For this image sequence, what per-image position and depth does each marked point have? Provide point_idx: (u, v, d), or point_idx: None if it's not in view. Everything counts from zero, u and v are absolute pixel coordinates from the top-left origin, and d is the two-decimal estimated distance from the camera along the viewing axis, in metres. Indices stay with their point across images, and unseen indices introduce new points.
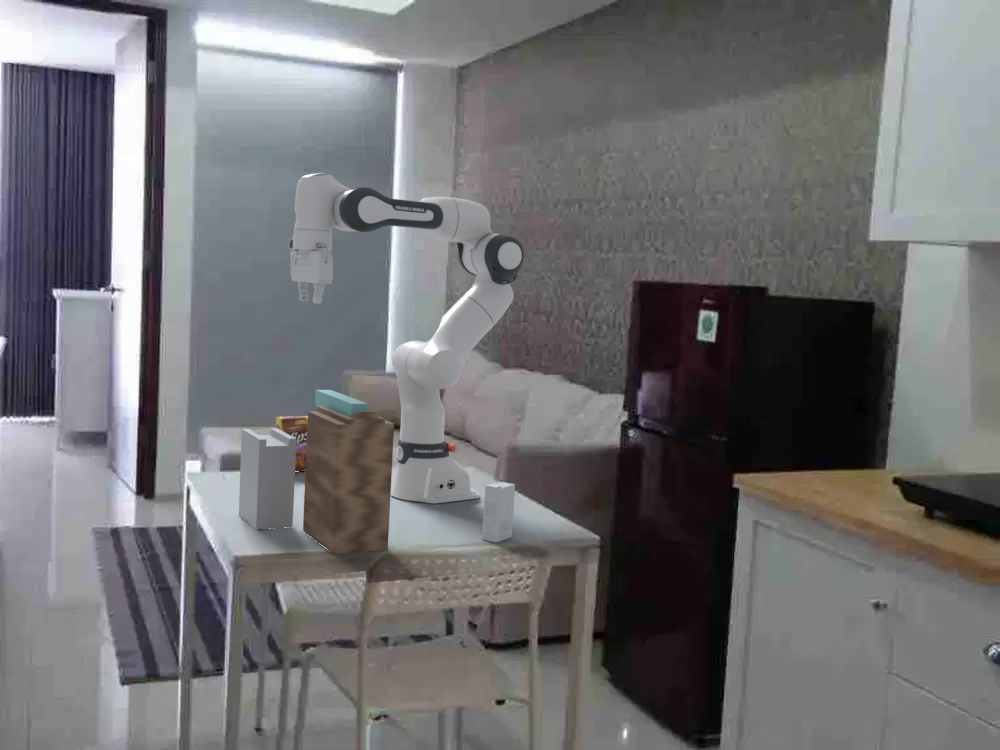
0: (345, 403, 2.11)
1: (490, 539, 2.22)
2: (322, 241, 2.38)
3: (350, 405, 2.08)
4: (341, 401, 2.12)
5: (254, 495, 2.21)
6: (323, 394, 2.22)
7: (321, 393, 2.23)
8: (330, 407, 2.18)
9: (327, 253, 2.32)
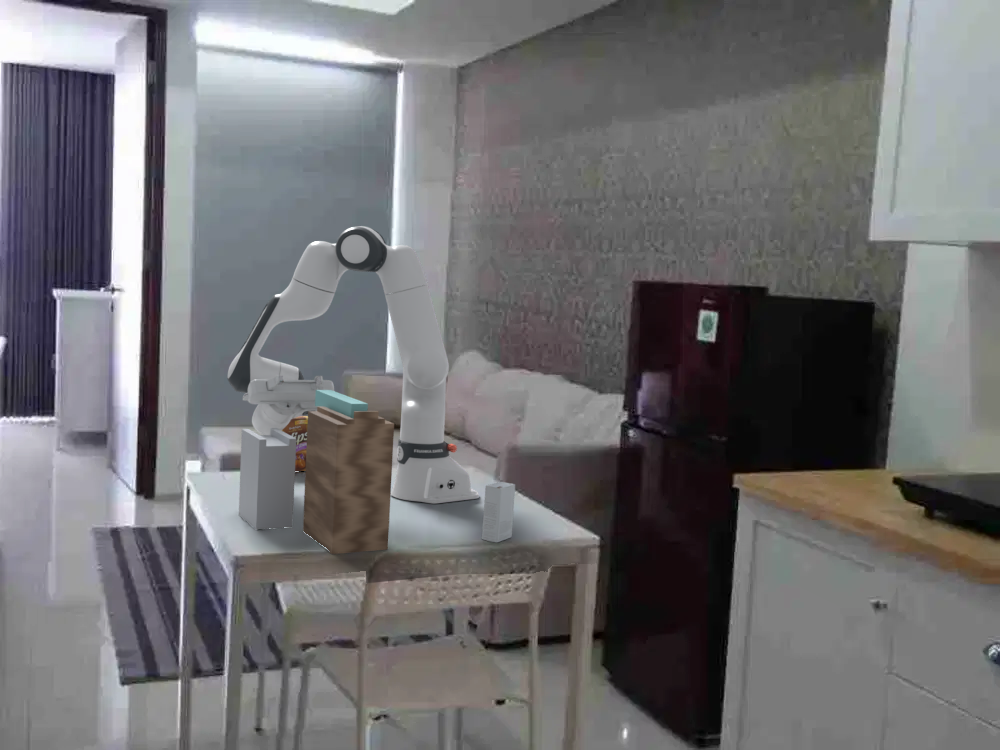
0: (345, 403, 2.11)
1: (490, 539, 2.22)
2: None
3: (350, 405, 2.08)
4: (341, 401, 2.12)
5: (254, 495, 2.21)
6: (323, 394, 2.22)
7: (321, 393, 2.23)
8: (330, 407, 2.18)
9: (243, 396, 2.42)
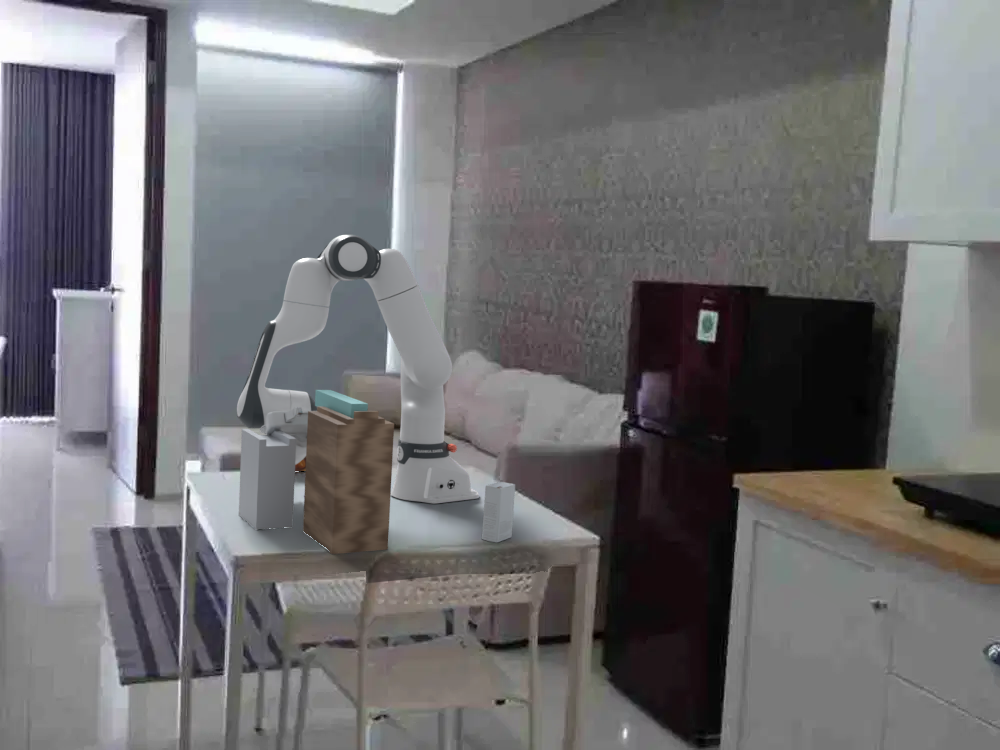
0: (345, 403, 2.11)
1: (490, 539, 2.22)
2: None
3: (350, 405, 2.08)
4: (341, 401, 2.12)
5: (254, 495, 2.21)
6: (323, 394, 2.22)
7: (321, 393, 2.23)
8: (330, 407, 2.18)
9: (260, 429, 2.34)
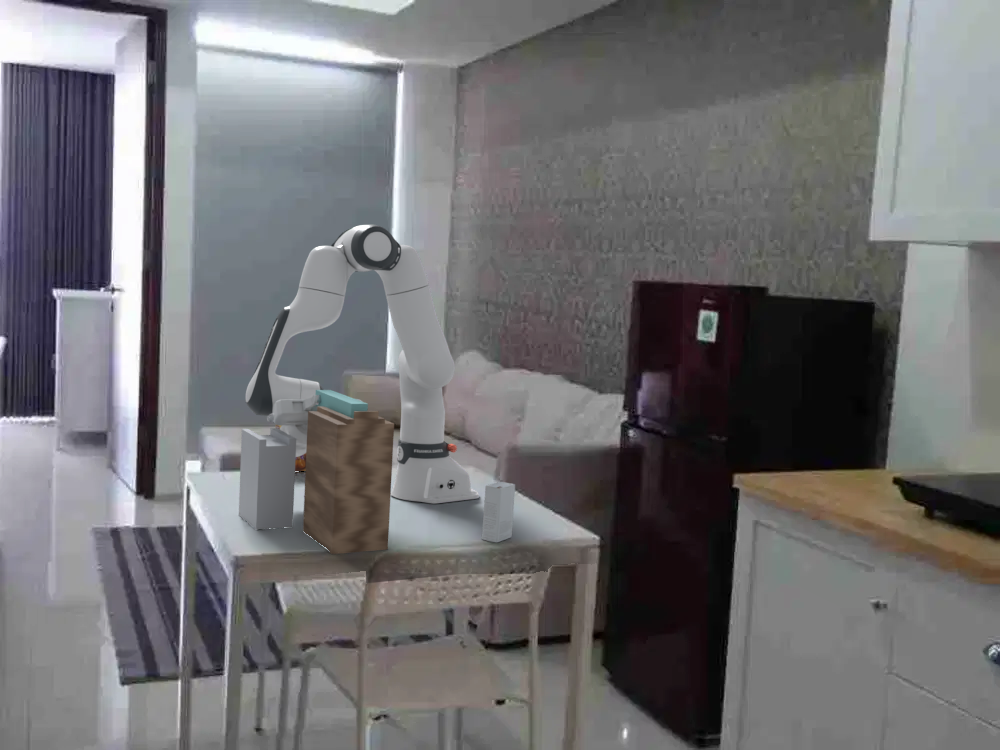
0: (345, 403, 2.11)
1: (490, 539, 2.22)
2: None
3: (350, 405, 2.08)
4: (341, 401, 2.12)
5: (254, 495, 2.21)
6: (323, 394, 2.22)
7: (321, 393, 2.23)
8: (330, 407, 2.18)
9: (267, 417, 2.28)
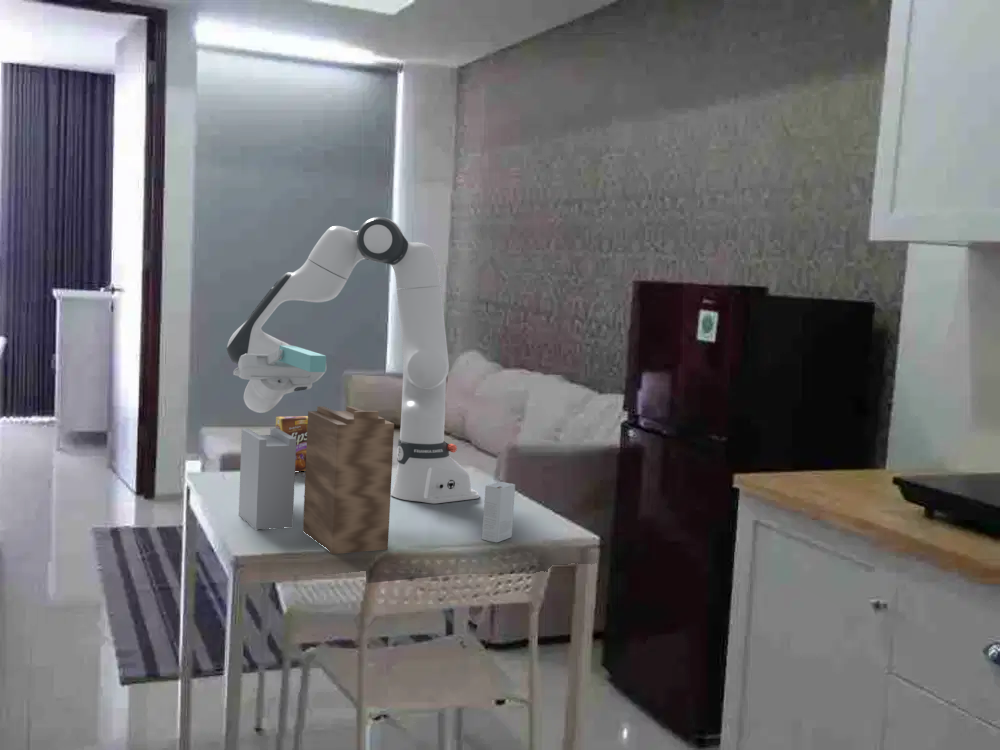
0: (304, 355, 2.21)
1: (490, 539, 2.22)
2: None
3: (309, 357, 2.18)
4: (301, 354, 2.23)
5: (254, 495, 2.21)
6: (285, 348, 2.33)
7: (284, 348, 2.34)
8: (292, 360, 2.29)
9: (233, 371, 2.39)
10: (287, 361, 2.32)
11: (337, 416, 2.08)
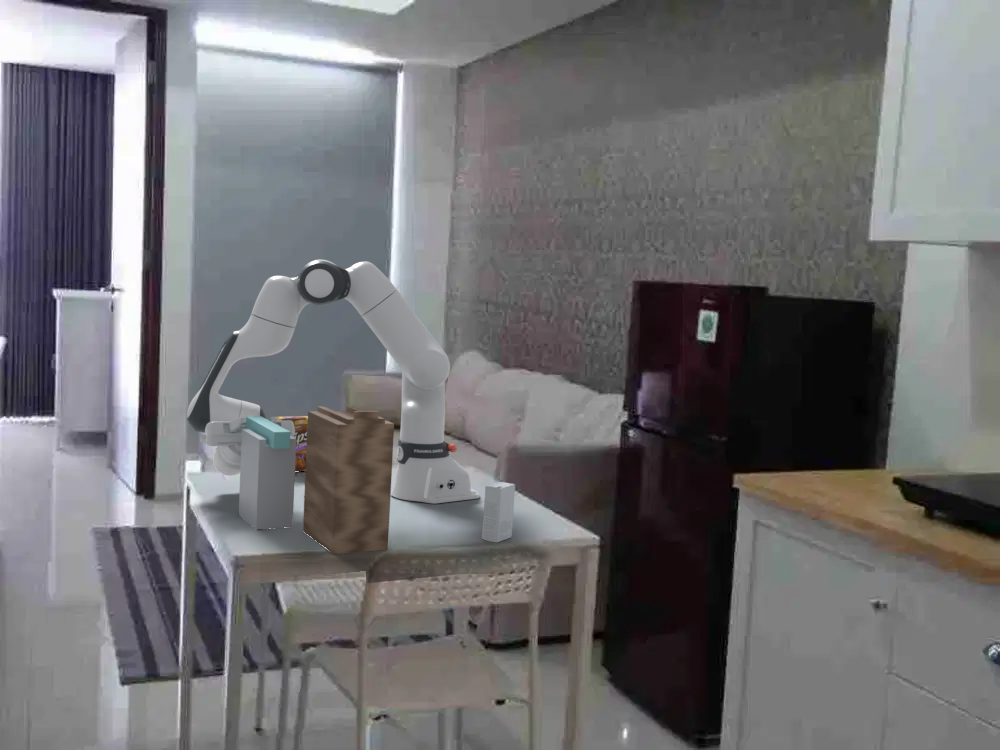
0: (269, 431, 2.19)
1: (490, 539, 2.22)
2: None
3: (273, 433, 2.16)
4: (266, 429, 2.21)
5: (254, 495, 2.21)
6: (251, 421, 2.31)
7: (250, 420, 2.32)
8: None
9: (200, 438, 2.37)
10: None
11: (337, 416, 2.08)
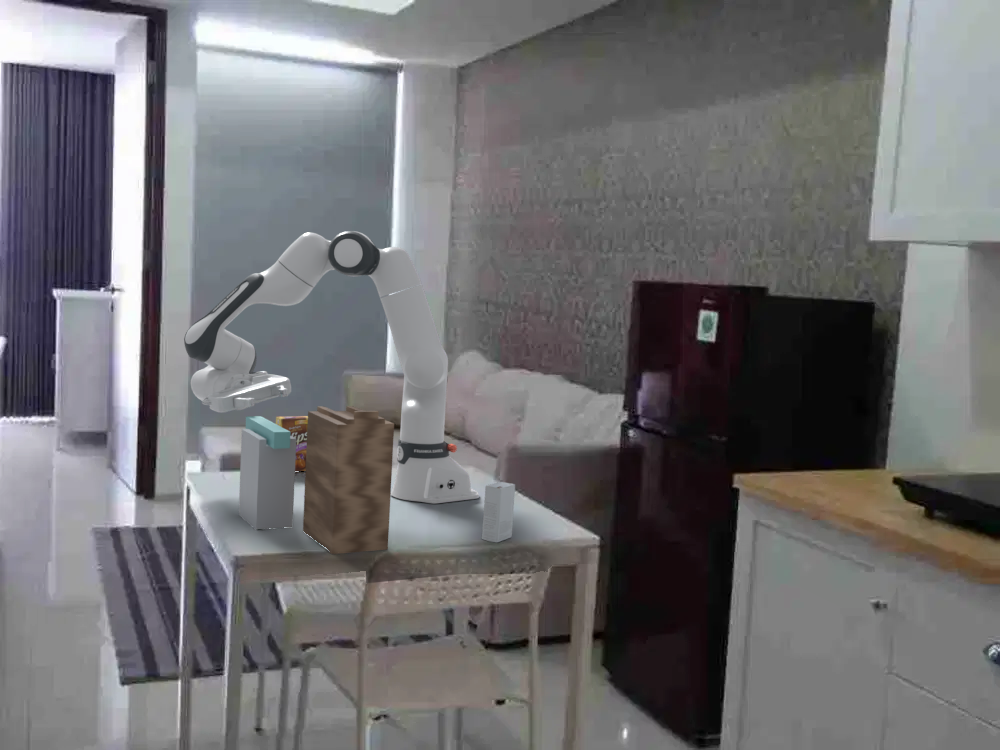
0: (269, 431, 2.19)
1: (490, 539, 2.22)
2: None
3: (273, 433, 2.16)
4: (266, 429, 2.21)
5: (254, 495, 2.21)
6: (251, 421, 2.31)
7: (250, 420, 2.32)
8: None
9: (203, 402, 2.41)
10: None
11: (337, 416, 2.08)
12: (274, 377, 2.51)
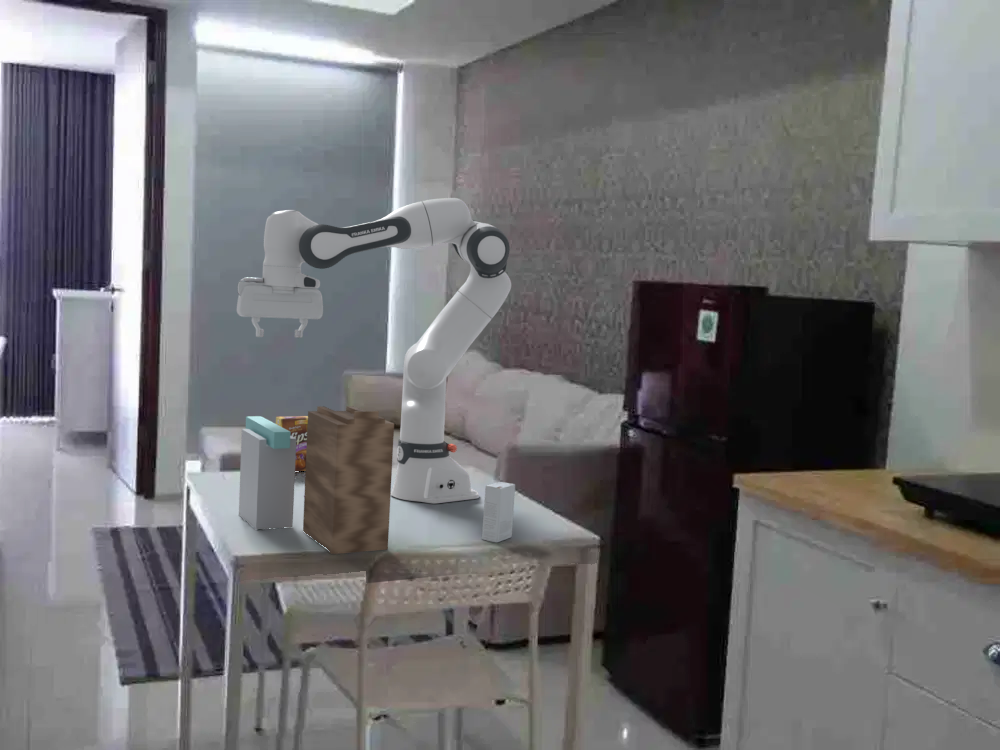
0: (269, 431, 2.19)
1: (490, 539, 2.22)
2: (264, 276, 2.41)
3: (273, 433, 2.16)
4: (266, 429, 2.21)
5: (254, 495, 2.21)
6: (251, 421, 2.31)
7: (250, 420, 2.32)
8: None
9: (237, 286, 2.40)
10: None
11: (337, 416, 2.08)
12: (316, 300, 2.47)
